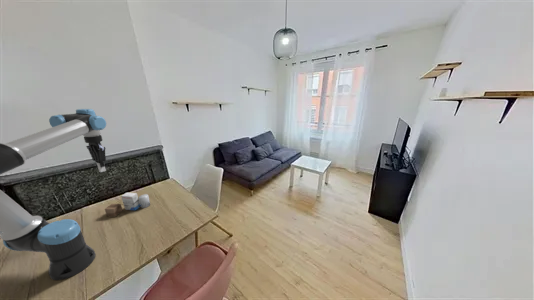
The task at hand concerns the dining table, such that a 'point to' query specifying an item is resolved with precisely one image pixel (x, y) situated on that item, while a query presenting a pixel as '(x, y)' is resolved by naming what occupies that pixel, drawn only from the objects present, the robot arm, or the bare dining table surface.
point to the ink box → (130, 201)
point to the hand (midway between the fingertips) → (102, 171)
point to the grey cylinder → (144, 201)
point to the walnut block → (113, 210)
